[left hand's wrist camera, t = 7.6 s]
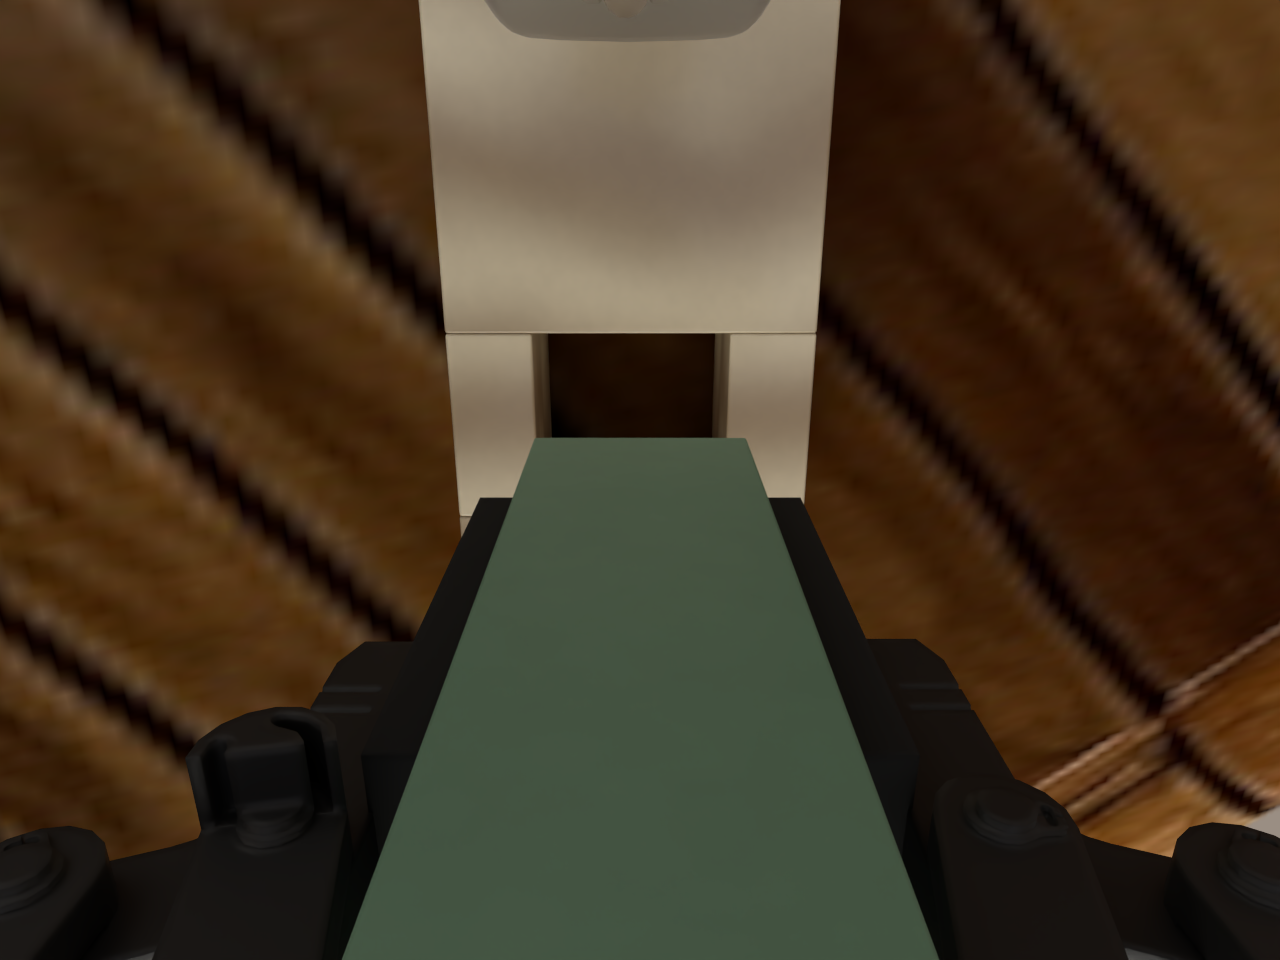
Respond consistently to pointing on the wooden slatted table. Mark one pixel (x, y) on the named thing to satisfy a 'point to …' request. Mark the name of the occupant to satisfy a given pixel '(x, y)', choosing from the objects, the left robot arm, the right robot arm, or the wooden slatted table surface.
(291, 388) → the wooden slatted table surface
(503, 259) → the peg board
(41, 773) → the wooden slatted table surface
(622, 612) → the peg
